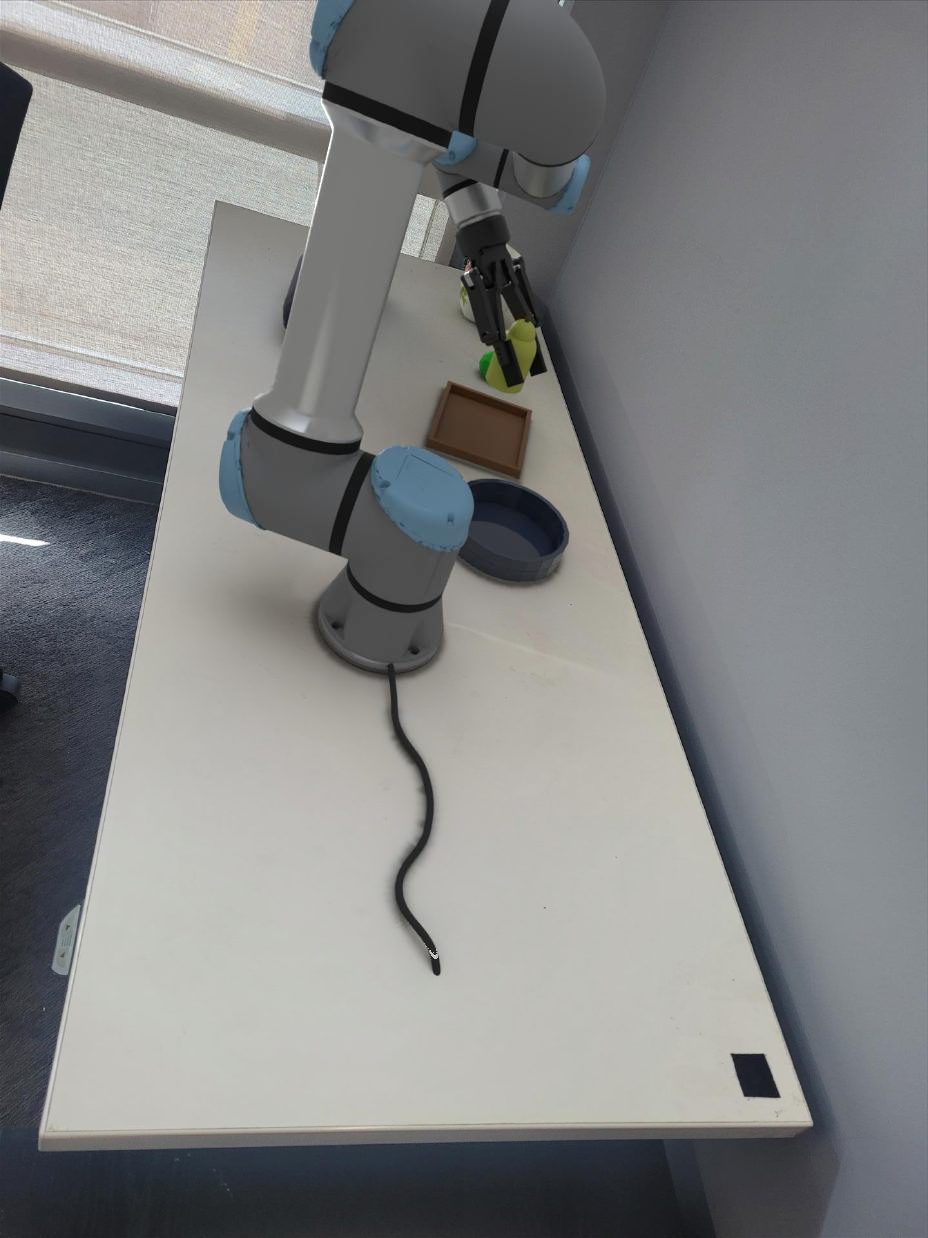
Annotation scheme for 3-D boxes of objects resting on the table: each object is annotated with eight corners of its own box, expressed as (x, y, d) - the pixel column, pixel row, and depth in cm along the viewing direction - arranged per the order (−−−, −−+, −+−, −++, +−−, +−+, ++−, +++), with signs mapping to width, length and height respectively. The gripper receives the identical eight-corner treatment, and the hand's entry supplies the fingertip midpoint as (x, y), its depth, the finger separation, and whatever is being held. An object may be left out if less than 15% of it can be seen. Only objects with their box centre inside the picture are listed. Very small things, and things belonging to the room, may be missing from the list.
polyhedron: (506, 381, 153) (515, 358, 149) (489, 386, 149) (497, 363, 146) (487, 367, 154) (495, 344, 151) (470, 371, 151) (478, 348, 148)
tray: (517, 481, 131) (521, 471, 130) (424, 449, 130) (428, 438, 128) (528, 420, 145) (532, 410, 144) (444, 390, 144) (448, 380, 142)
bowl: (553, 599, 114) (565, 577, 111) (433, 559, 112) (442, 535, 109) (561, 524, 127) (572, 502, 124) (453, 487, 125) (461, 464, 122)
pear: (519, 398, 126) (547, 327, 118) (483, 385, 126) (508, 313, 117) (523, 380, 130) (550, 310, 122) (488, 367, 130) (513, 296, 122)
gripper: (494, 223, 127) (540, 370, 134) (419, 239, 114) (473, 401, 121) (533, 204, 122) (578, 358, 129) (459, 219, 109) (513, 389, 116)
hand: (527, 379), depth 125 cm, fingers closed on pear, 6 cm apart
